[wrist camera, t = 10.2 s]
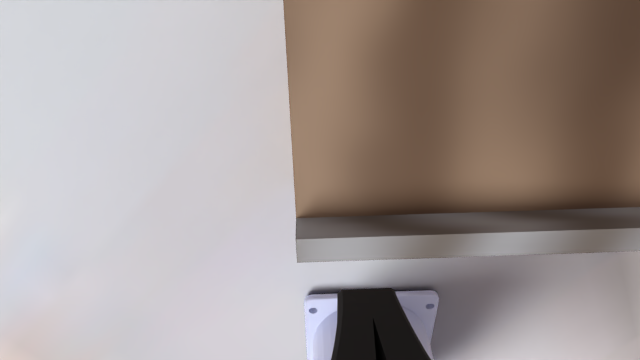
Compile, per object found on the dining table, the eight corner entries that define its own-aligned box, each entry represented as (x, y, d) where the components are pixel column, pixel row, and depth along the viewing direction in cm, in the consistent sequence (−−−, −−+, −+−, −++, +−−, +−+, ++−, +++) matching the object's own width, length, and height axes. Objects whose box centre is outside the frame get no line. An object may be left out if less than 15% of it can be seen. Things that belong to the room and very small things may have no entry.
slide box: (298, 187, 21) (297, 262, 17) (281, -138, 14) (271, -157, 10) (732, 173, 22) (843, 244, 17) (929, -150, 14) (1205, -173, 10)
